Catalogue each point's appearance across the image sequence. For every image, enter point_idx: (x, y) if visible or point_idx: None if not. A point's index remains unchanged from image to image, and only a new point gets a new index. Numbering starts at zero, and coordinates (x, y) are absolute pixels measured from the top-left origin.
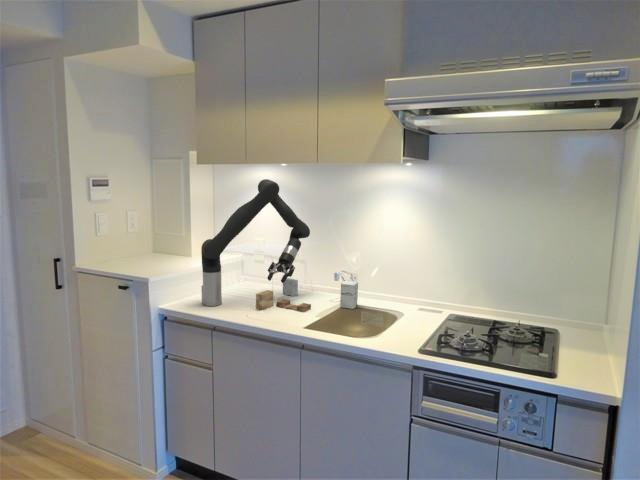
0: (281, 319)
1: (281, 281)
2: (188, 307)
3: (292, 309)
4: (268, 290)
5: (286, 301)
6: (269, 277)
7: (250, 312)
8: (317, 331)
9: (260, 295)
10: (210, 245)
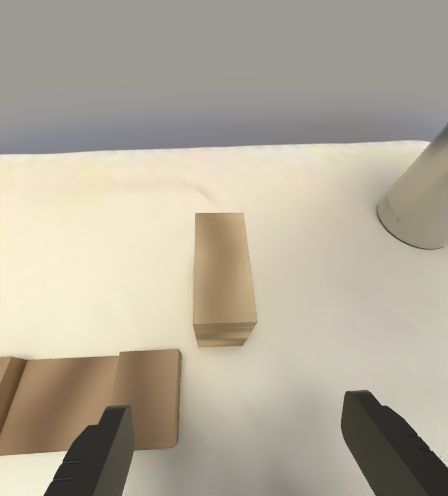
0: (65, 220)
1: (123, 409)
2: None
3: (61, 359)
4: (236, 315)
5: (118, 401)
6: (361, 415)
7: None
8: None
9: (208, 216)
10: None
